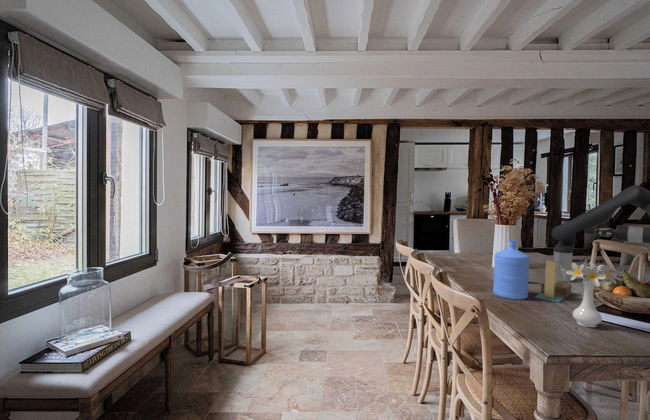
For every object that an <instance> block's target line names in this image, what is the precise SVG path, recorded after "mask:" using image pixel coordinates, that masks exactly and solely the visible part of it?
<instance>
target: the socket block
mask: <svg viewBox="0 0 650 420" xmlns="http://www.w3.org/2000/svg"><path fill="white" fill-rule="evenodd" d="M544 289H545V281H544V282H541V283H540V293H544ZM571 294H572V283H567V282H561V281H557V283H556V296H560V297H564V299H567V298H568V297H570V296H571Z"/></svg>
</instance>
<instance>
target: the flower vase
mask: <svg viewBox="0 0 650 420" xmlns="http://www.w3.org/2000/svg"><path fill="white" fill-rule="evenodd" d="M588 265H589V266H586V262H585V261H584V262H583V263H581V264H580V265H579V266H578V264H577V263H575V262H572V270H568V271H566V270H565V269H564V268H563V267H562V266H561V265H560V266H561V269H562V270H561V273H562V275H564V276H563V282H562V283H565V282H564V281H565V279H566V277H567V276H568V274H569V275H571V281H574V280H575V279H577V278H578V277H579V278H582V283H583V293H582V294H583V295H582V301H581V302H580V304H579V306H578V307H576V308H575V309H574V310H573V311H572V317H573V319H575V321H576V323H577V324H578V325H580V326H583V327H584V328H585V327H586V328H596V327H597V325H599V324H600V323H602V321H603V317H602V315H601V313H600V312H599V311H598V310H597V309H596V307H595V304H594V287H600V286H601V285H600V284H601V283H600V281H599V280H605V279H606V280H607V281H611V282H612V283H614V284H615V285H617V281H616V279H615V278H616V277H617V276H618V273H616V272H614V271H611V266H610V264H609V263H608V264H606V265H605V264H600V265H598V266H597V265H596V264H595V262H593V261H589V264H588Z"/></svg>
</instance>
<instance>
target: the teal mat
mask: <svg viewBox="0 0 650 420" xmlns="http://www.w3.org/2000/svg"><path fill="white" fill-rule="evenodd" d="M535 299H538V300H543V301H549V302H552V303H553V302H554V303H558V304H559V303H561V302H562V301H563V300H564V299H565V298H564V297H560V296H556V297H555V298H554V299H552V298H547V297H544V293H541V292H540V293H539V294H537V295H535Z"/></svg>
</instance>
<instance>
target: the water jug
mask: <svg viewBox="0 0 650 420" xmlns="http://www.w3.org/2000/svg"><path fill="white" fill-rule="evenodd" d="M516 243H517V240H513V239H512V240H511V239H510V240H508V248H506V249H502V250H501V251H497V252H495V253H494V268H493V271H494V272H493V288H492V291H493V292H492V293H493V294H494V295H495V296H498V297H500V298H504V299H509V300H515V301H517V300H519V301H520V300H521V301H522V300H526V299H527V298H528V297H529V281H530V275H529V273H530V263H531V262H530V256H529V255H528V254H526V253H525V252H522V251H521V250H518V249H517V244H516Z"/></svg>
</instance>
